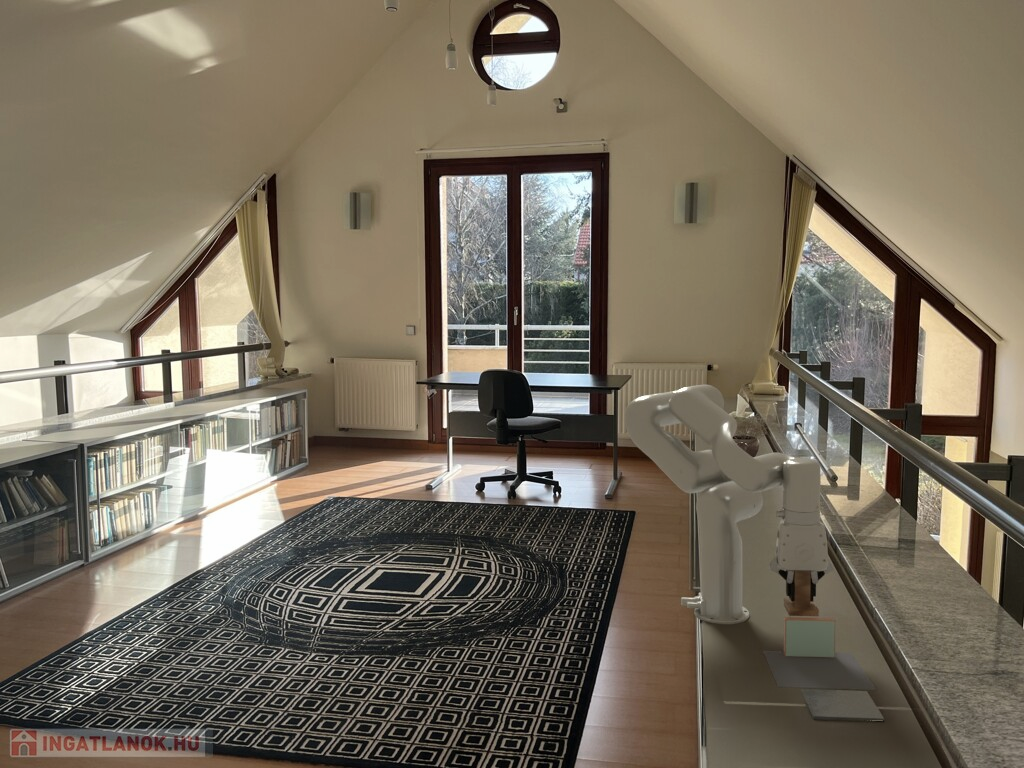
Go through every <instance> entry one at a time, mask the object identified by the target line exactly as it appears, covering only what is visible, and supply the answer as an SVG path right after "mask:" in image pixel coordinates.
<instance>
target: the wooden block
mask: <svg viewBox="0 0 1024 768" xmlns="http://www.w3.org/2000/svg"><path fill="white" fill-rule="evenodd" d="M793 582H794V584H795V601H791V600H790V598H783V607H784V608H785V610H786V612H787V614H788V617H819V616H820V615H819V613H820V612H819V611H820V610H819V608H818V606H817V604H816V603H815V601H814V600H813V602H810V583H811V571H794V574H793Z"/></svg>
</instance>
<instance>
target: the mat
mask: <svg viewBox="0 0 1024 768" xmlns="http://www.w3.org/2000/svg"><path fill="white" fill-rule="evenodd" d="M762 652H763V654H764V657H765V659H766V661H767V665H768V666H769V669H770V672H771V674H772V676H773V679H774V681H775V683H776V686H777V687H778V688H795V689H797V688H798V689H799V688H800V689H822V690H854V691H877V689H876V688H875V686H874V685H873V682H872V681H871V680H870V679H869V676H868V675H867V674H866V672H865V671H864V669H863V668H862V666H861V665H860V663H859V662H858V659H856V657H855V656H854V653H852V652H837V651H835V658H828V657H790V656H784V650H763V651H762Z"/></svg>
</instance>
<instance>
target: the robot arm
mask: <svg viewBox="0 0 1024 768" xmlns="http://www.w3.org/2000/svg"><path fill="white" fill-rule="evenodd" d="M724 407H725V399H724V397H723V394H722V393H721V391H720V390H719V389H718V388H716V387H715V386H713V385H710V384H699V385H691V386H686V387H682V388H680V389H679V388H678V389H677V390H673V391H666V392H660V393H652V394H647V395H642V396H639V397H636V398H635V399H633V400H631V402H629V403H628V404H627V406H626V408H625V411H624V424H625V425H624V426H625V430H626V432H627V434H628V436H629V438H630V439H631V441H632V443H634V445H635V447H637V448H638V449H639V450H640V451H641V452H642V453H643V454H645V455H646V456H647V457H648V458H649V459H650V460H652V462H653V463H654V464H655V465H656V466H657V467H658V468H659V469H660V470H661V471H662V472H663V473H664V474H665V476H667V478H669V479H670V480H671V482H673V484H675V485H676V487H677V488H679V489H680V490H681V491H683V492H684V493H686V494H696V493H700V492H701V493H700V494H699V495H698V497H697V499H696V503H695V508H696V515H697V520H698V525H699V533H700V534H699V535H700V537H699V538H700V592H698V595H697V596H696V595H695V596H694V597H689V596H686V597H685V596H681V599H680V601H681V602H680V603H681V606H687V608H686V609H694V610H693V611H694V615H695V617H696V618H697V619H698V620H700V621H705V622H707V623H712V624H717V625H718V624H719V625H734V624H741V623H743V622H745V621H747V620H749V618H750V611H749V609H747V608H746V607H744V606H743V540H742V537H741V536H742V535H741V534H740V532H739V531H740V530H739V528H738V525H737V524H738V522H741V521H743V520H748V519H749V518H752V517H754V516H755V515H757V514H758V513H760V511H761V509H762V507H763V505H764V498H763V497H764V496H763V494H762V492H765V491H768V490H772V489H776V488H782V509H780V510H776V511H775V517H776V518H780V519H781V520H780V521H779V525H778V530H777V533H776V534H777V536H776V545H775V546H776V547H775V554H774V557H773V558H772V560H771V561H770V563H769V565H768V568H769V569H770V570H771V571H772V572H773V573H775V574H778V575H779V576H780V577H782V578H783V580H784V581H785V583H786V584H785V594H786V597H788V599H790V600H791V601H795V584H794V582H793V574H794V571H811V583H810V602H813V601H814V597H816V596H817V584H818V583H819V581H820V580H821V579H822V578H823V577H824V576H825V575H827V574H829V573H831V572H833V571H835V570H834V569H835V568H834V567H833V565H832V563H831V561H830V560H829V551H828V541H827V540H828V538H827V533H826V531H827V530H826V527H825V523H823V522H822V521H821V480H822V479H821V477H822V475H821V465H820V463H819V462H818V461H817V460H815V459H811V458H806V457H805V458H804V457H794V456H792V455H789V454H786V453H783V452H778V451H777V452H771V453H765V454H761V455H758V456H754V457H753V456H752V455H751V454H749V453H748V452H746V450H744V449H742V448H741V447H740V446H739V445H738V444H737V443H736V442H735V440H734V439H733V437H734V436H735V434H736V432H737V429H738V422H737V419H736V418H734V417H733V416H732V415H731V414H729V413H728V412H726V410H724ZM678 424H682V425H684V427H686V428H687V429H688V430H690V431H691V432H692V433H694V434H695V435H696V436H697V437H699V439H701V440H702V441H703V442H704V443H706V444H707V445H708V446H709V447H710V449H705V450H699V451H695V450H692V449H691V448H690V447H688V446H687V445H686V444H685V443H684V442H683V441H682V440H681V439H680V438H679V437H678V436H676V435H675V434H673V433H671V432H670V431H667V430H666V429H664V428H663V427H668V426H673V425H678Z"/></svg>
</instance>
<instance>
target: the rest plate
mask: <svg viewBox="0 0 1024 768" xmlns="http://www.w3.org/2000/svg"><path fill="white" fill-rule="evenodd" d="M800 691H801V694H802V696H803V698H804V700H805V705H806V706H807V708H808V711H809V713H810V716H811V717H812V719H813V720H821V721H822V720H823V721H825V720H826V721H847V722H849V721H852V722H856V721H857V722H873V721H872V720H884V721H885V718H884V716H883V714H882V713H881V711H880V709H879V708H878V706H877V705H876V703H875V701H874V700H873V698H872V697H871V696H870V694H869V692H868V690H849V689H817V688H800ZM859 720H860V721H859ZM864 720H865V721H864ZM867 720H868V721H867ZM870 720H871V721H870Z"/></svg>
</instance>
